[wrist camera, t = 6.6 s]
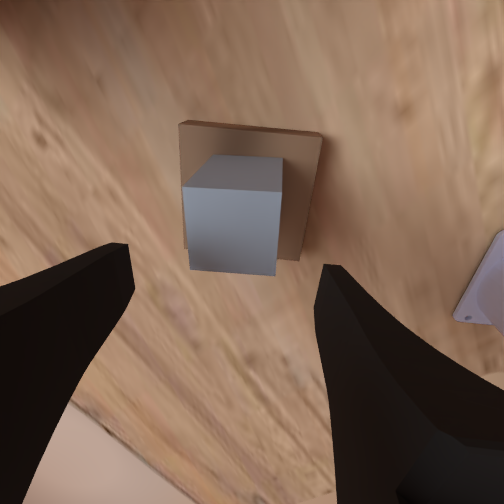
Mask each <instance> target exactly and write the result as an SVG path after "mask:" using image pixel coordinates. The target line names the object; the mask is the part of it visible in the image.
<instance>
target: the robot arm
mask: <svg viewBox="0 0 504 504" xmlns="http://www.w3.org/2000/svg"><path fill="white" fill-rule="evenodd" d="M134 291H135V284H134V278H133V272H132V266H131V260H130V253H129V247H128V244H122V243H109V244H106V245H103V246H100V247H98V248H95V249H93V250H90V251H88V252H86V253H83V254H81V255H79V256H76V257H74V258H72V259H70V260H67V261H65V262H63V263H60V264H58V265H56V266H53V267H51V268H48V269H46V270H43V271H40V272H38V273H35V274H33V275H30V276H28V277H25V278H23V279H20V280H17V281H15V282H12V283H9V284H6V285H3V286H0V504H22V503H23V500H24V498H25V496H26V493H27V491H28V488H29V486H30V484H31V481H32V479H33V477H34V474H35V472H36V469H37V467H38V465H39V463H40V461H41V458H42V456H43V454H44V452H45V450H46V447H47V445H48V443H49V441H50V439H51V436H52V434H53V432H54V430H55V428H56V426H57V424H58V422H59V420H60V418H61V416H62V414H63V412H64V410H65V408H66V406H67V404H68V402H69V400H70V398H71V396H72V394H73V393H74V391H75V389H76V387H77V385H78V383H79V381H80V379H81V378H82V376H83V374H84V372H85V371H86V369H87V367H88V366H89V364H90V362H91V361H92V359H93V358H94V356H95V355H96V353H97V352H98V351H99V349H100V348H101V346H102V345H103V343H104V342H105V340H106V339H107V337H108V336H109V334H110V333H111V331H112V330H113V328H114V327H115V325H116V324H117V322H118V321H119V319H120V318H121V316H122V315H123V313H124V311H125V310H126V308H127V306H128V304H129V302H130V299H131V297H132V295H133V293H134ZM466 316H467V317H466ZM453 318H454V319H455V320H456V321H459V322H468V323H477V324H487V325H494V326H495V327H496V328H497V329H498V330H499V332H500V333H501V334H502V335H503V336H504V230H502V231H500V232H499V233H498V234H497V235H496V236H495V238H494V240H493V242H492V244H491V246H490V247H489V249H488V251H487V253H486V255H485V256H484V258H483V260H482V262H481V264H480V266H479V267H478V269H477V271H476V273H475V275H474V276H473V278H472V280H471V282H470V284H469V286H468V287H467V289H466V291H465V293H464V295H463V296H462V298H461V300H460V302H459V304H458V306H457V307H456V309H455V311H454V313H453ZM314 321H315V333H316V338H317V343H318V348H319V353H320V358H321V363H322V368H323V373H324V378H325V383H326V388H327V394H328V400H329V409H330V419H331V429H332V440H333V452H334V464H335V478H336V493H337V504H504V390H502V389H500V388H499V387H497V386H495V385H493V384H491V383H490V382H488V381H486V380H484V379H483V378H481V377H479V376H478V375H476V374H474V373H473V372H471V371H469V370H468V369H466V368H464V367H463V366H461V365H459V364H458V363H456V362H455V361H453V360H452V359H450V358H449V357H447V356H446V355H444V354H442V353H441V352H439V351H438V350H436V349H435V348H434V347H432V346H431V345H429V344H428V343H426V342H425V341H424V340H422V339H421V338H420V337H418V336H417V335H416V334H414V333H413V332H412V331H410V330H409V329H408V328H407V327H405V326H404V325H403V324H402V323H400V322H399V321H398V320H397V319H396V318H395V317H393V316H392V315H391V314H390V313H389V312H388V311H387V310H385V309H384V308H383V307H382V306H381V305H380V304H379V303H378V302H377V301H376V300H375V299H374V298H373V297H372V296H371V295H370V294H368V293H367V292H366V291H365V290H364V288H363V287H362V286H361V285H360V284H359V283H358V282H357V281H356V280H355V279H354V278H353V277H352V276H351V275H350V274H349V273H348V272H347V271H346V270H345V269H344V268H343V267H342V266H341V265H331V264H324V265H323V269H322V274H321V278H320V282H319V287H318V291H317V295H316V300H315V304H314Z"/></svg>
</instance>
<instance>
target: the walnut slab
mask: <svg viewBox="0 0 504 504" xmlns="http://www.w3.org/2000/svg"><path fill="white" fill-rule="evenodd" d="M178 125H179V147H180V169H181V191H182V186H183V185H184V184H185V183H186V182H187V181H188V180H189V179H190V178H191V177H192V176H193V175H194V174H195V173H196V172H197V171H198V170H199V169H200V168H201V167H202V166H203V165H204V164H205V163H206V162H207V160H208V159H209V158H210V157H211V156H212V155H234V156H255V157H275V158H283V168H282V199H281V211H280V224H279V236H278V248H277V259H284V260H294V261H300V255H301V250H302V245H303V240H304V234H305V229H306V224H307V218H308V213H309V208H310V203H311V197H312V192H313V187H314V181H315V176H316V171H317V166H318V160H319V155H320V150H321V144H322V139H323V137H322V136H321V135H320V134H319V133H318V132H309V131H298V130H288V129H277V128H266V127H256V126H245V125H235V124H224V123H213V122H203V121H192V120H187V121H185V122H182V123H180V124H178ZM182 212H183V234H184V249H188V243H187V233H186V222H185V212H184V202H183V192H182Z"/></svg>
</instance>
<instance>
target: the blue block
mask: <svg viewBox="0 0 504 504" xmlns="http://www.w3.org/2000/svg"><path fill="white" fill-rule="evenodd" d="M282 168H283V158H275V157H255V156H234V155H212V156H211V157H210V158H209V159H208V160H207V162H206V163H205V164H204V165H203V166H202V167H201V168H200V169H199V170H198V171H197V172H196V173H195V174H194V175H193V176H192V177H191V178H190V179H189V180H188V181H187V182H186V183H185V184H184V185H183V186H182V192H183V202H184V212H185V222H186V233H187V243H188V253H189V263H190V270H200V271H213V272H226V273H240V274H253V275H266V276H275V273H276V261H277V248H278V236H279V224H280V211H281V199H282Z"/></svg>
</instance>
